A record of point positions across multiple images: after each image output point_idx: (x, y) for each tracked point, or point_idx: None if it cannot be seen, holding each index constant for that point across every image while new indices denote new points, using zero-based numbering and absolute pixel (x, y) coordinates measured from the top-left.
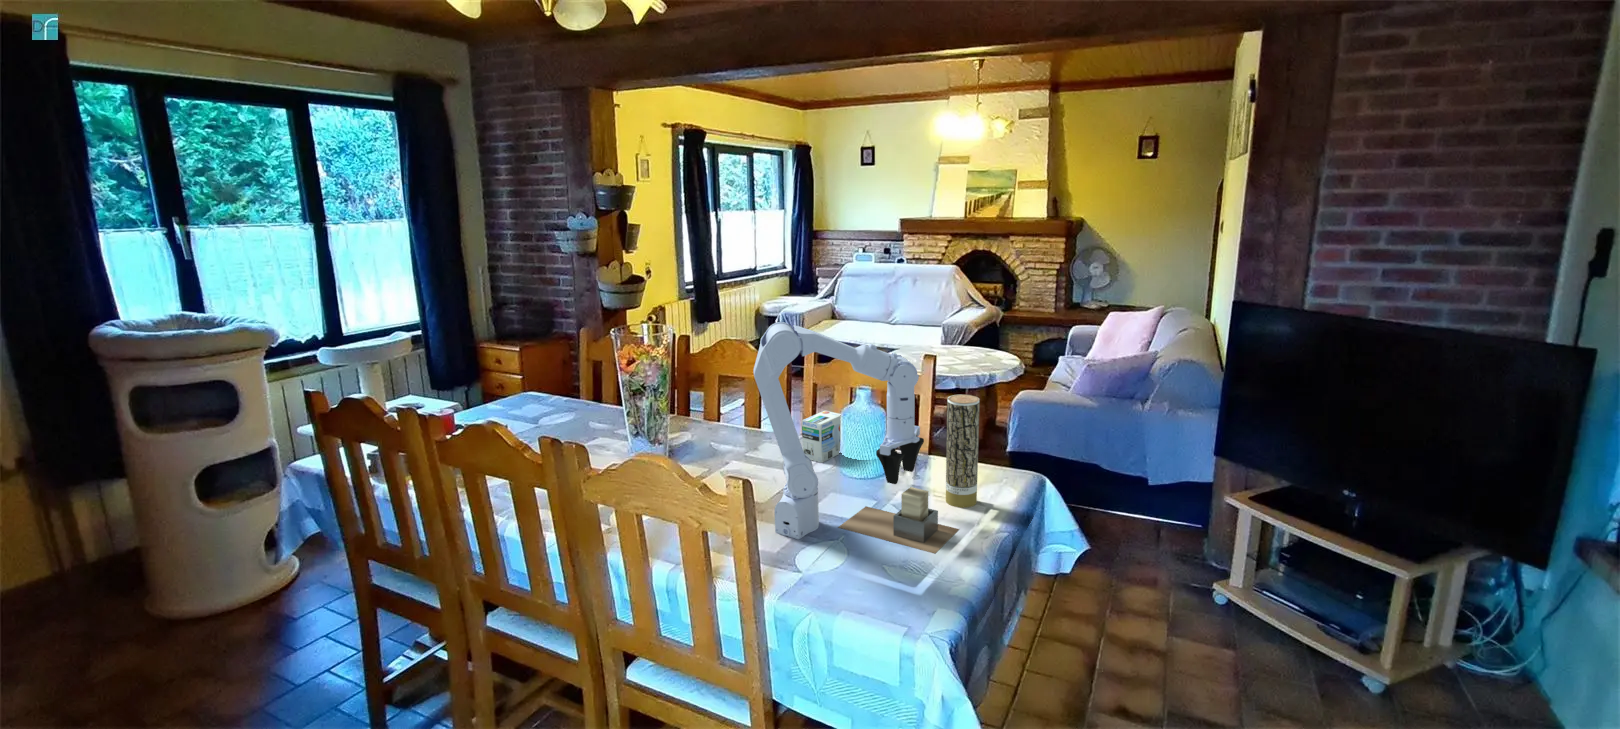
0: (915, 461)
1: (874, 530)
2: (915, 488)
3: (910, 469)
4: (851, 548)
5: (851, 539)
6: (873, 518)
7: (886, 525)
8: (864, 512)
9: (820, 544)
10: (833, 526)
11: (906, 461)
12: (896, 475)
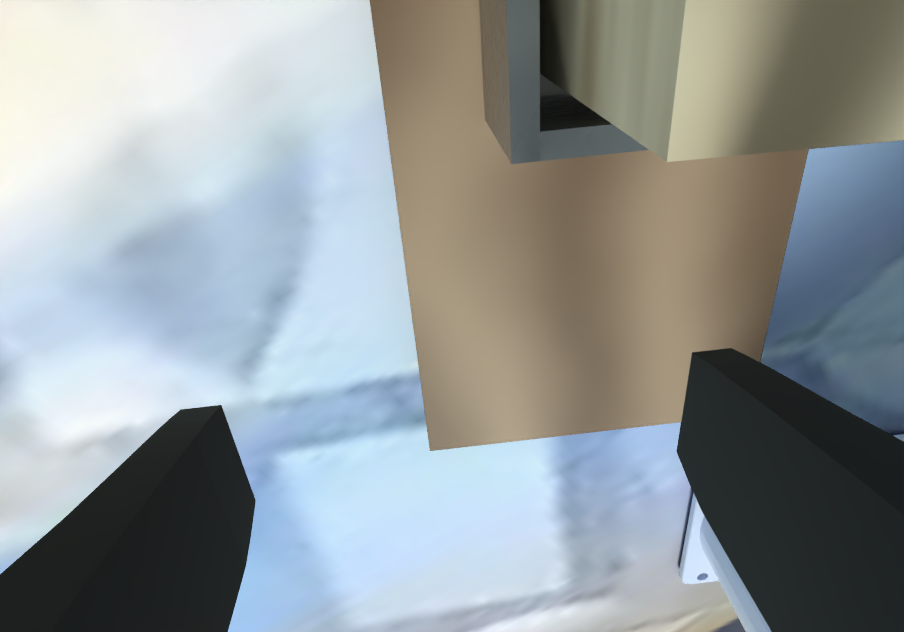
0: (93, 512)
1: (705, 243)
2: (694, 61)
3: (217, 450)
4: (885, 243)
5: (779, 303)
6: (553, 337)
7: (605, 221)
8: (507, 415)
9: (881, 383)
10: (673, 444)
11: (200, 597)
12: (863, 421)
